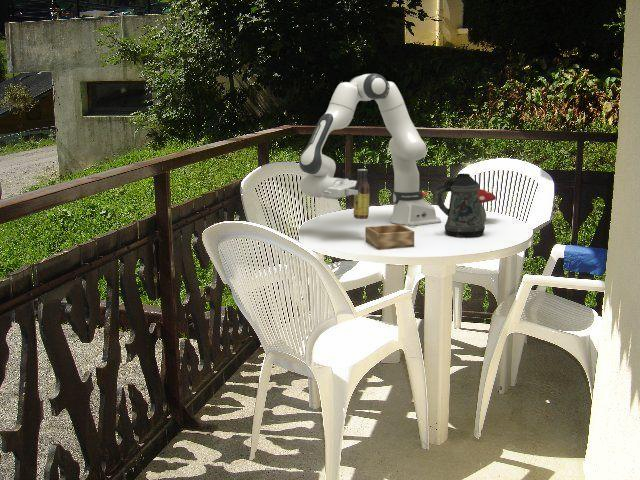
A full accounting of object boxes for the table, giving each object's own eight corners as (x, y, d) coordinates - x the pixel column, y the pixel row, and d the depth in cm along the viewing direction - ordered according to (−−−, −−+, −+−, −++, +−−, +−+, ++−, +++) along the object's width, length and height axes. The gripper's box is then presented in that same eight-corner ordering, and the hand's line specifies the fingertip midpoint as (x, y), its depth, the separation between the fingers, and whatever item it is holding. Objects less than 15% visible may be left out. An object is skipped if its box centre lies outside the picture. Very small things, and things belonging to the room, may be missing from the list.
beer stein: (492, 235, 321) (494, 175, 315) (454, 240, 312) (455, 178, 307) (468, 228, 335) (469, 170, 330) (430, 233, 327) (431, 174, 321)
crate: (400, 238, 317) (400, 224, 316) (414, 246, 303) (414, 231, 301) (365, 241, 313) (365, 226, 312) (377, 249, 299) (377, 234, 298)
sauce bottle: (352, 216, 319) (353, 168, 316) (367, 216, 320) (368, 168, 316) (354, 219, 313) (355, 170, 309) (369, 219, 313) (371, 170, 310)
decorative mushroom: (467, 226, 340) (468, 192, 336) (453, 219, 355) (454, 186, 351) (501, 223, 343) (502, 190, 340) (486, 217, 358) (487, 185, 355)
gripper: (320, 184, 312) (349, 186, 305) (347, 177, 329) (375, 180, 321) (320, 199, 314) (349, 202, 306) (347, 192, 330) (375, 195, 323)
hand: (363, 191), depth 314 cm, fingers closed on sauce bottle, 6 cm apart
